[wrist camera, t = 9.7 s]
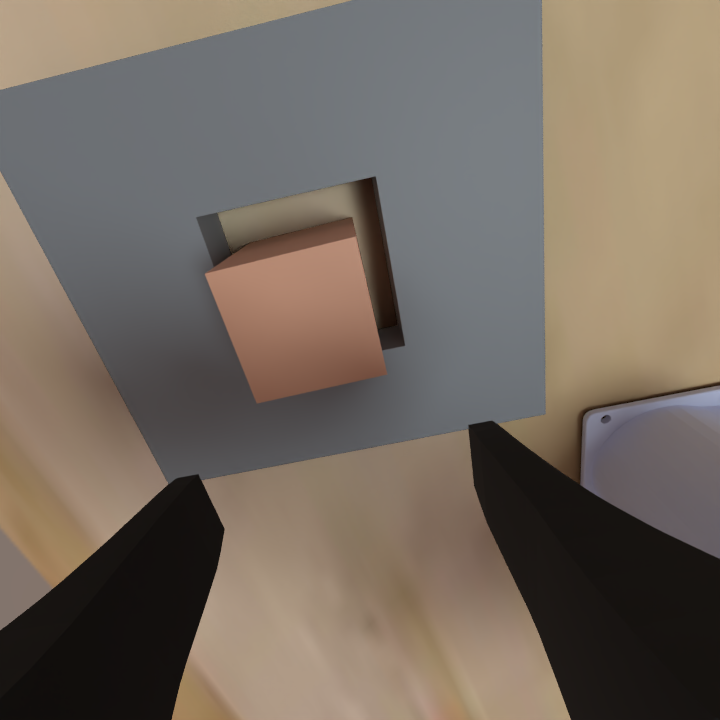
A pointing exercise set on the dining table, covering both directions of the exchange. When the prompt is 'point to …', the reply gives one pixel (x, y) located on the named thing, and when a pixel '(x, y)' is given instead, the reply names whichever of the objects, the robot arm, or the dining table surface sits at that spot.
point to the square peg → (299, 311)
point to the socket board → (290, 177)
